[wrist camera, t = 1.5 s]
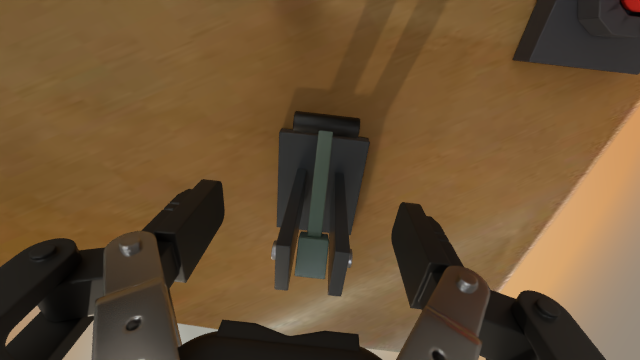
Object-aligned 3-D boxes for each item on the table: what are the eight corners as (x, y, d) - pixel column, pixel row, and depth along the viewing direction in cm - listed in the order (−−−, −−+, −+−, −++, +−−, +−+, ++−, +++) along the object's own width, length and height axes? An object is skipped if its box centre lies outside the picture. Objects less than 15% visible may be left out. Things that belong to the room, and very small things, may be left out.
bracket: (281, 128, 27) (243, 193, 15) (368, 138, 27) (393, 210, 15) (278, 221, 32) (249, 317, 21) (350, 228, 32) (358, 329, 21)
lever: (296, 115, 21) (294, 106, 19) (357, 122, 21) (362, 114, 19) (279, 263, 21) (275, 274, 19) (341, 270, 21) (344, 281, 19)
